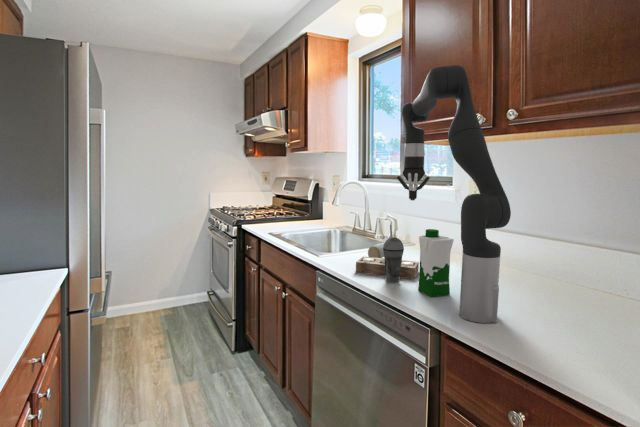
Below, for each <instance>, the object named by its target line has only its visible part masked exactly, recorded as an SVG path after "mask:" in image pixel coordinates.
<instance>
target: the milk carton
mask: <svg viewBox="0 0 640 427" xmlns="http://www.w3.org/2000/svg"><path fill="white" fill-rule="evenodd" d="M418 240H419V241H418V242H419V270H418V274H419V275H418V286H417V287H418V288H417V290H418V291H419V292H421V293H422V294H425V295H426V296H428V297H430V298H437V297H445V296H449V295H451V294H450V293H451V292H450V291H451V289H450V270H451V269H450V268H451V267H450V264H451V253H452V248H453V244H454V239H453V238H450V237H447V236H445V235H440V234H439V229H435V228H434V229H433V228H432V229H431V228H429V229H425V235H418Z"/></svg>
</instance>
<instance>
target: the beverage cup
mask: <svg viewBox="0 0 640 427" xmlns="http://www.w3.org/2000/svg"><path fill="white" fill-rule="evenodd" d="M392 229H393V228H392V224H389V230H390V237H389V238H387V239H386V240H385V241H384V242H385V243H384V247H383V251H384V258H385V275H386V276H385V281H386V283H391V284H394V283H400V278H401V277H400V271H401V262H402V260H403V255H404V250H405V248H404V243H403V241H402V240H401V239H400V238H398V237H394V236H393V230H392Z"/></svg>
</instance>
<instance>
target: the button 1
mask: <svg viewBox="0 0 640 427" xmlns="http://www.w3.org/2000/svg"><path fill="white" fill-rule="evenodd" d="M363 261H366V262H374V259H372V258H364V259H363Z"/></svg>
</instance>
